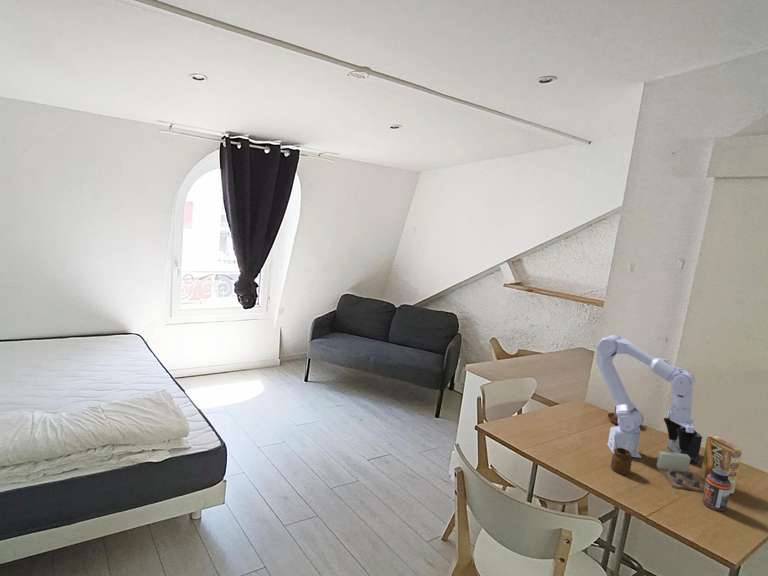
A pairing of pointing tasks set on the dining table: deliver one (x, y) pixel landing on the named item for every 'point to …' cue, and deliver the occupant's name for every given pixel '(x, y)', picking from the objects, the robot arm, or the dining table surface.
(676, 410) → the robot arm
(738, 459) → the candy box
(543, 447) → the dining table surface
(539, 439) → the dining table surface
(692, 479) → the side panel
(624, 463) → the utensil holder
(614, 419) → the cup and saucer
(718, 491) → the supplement bottle
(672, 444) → the small box
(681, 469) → the door
